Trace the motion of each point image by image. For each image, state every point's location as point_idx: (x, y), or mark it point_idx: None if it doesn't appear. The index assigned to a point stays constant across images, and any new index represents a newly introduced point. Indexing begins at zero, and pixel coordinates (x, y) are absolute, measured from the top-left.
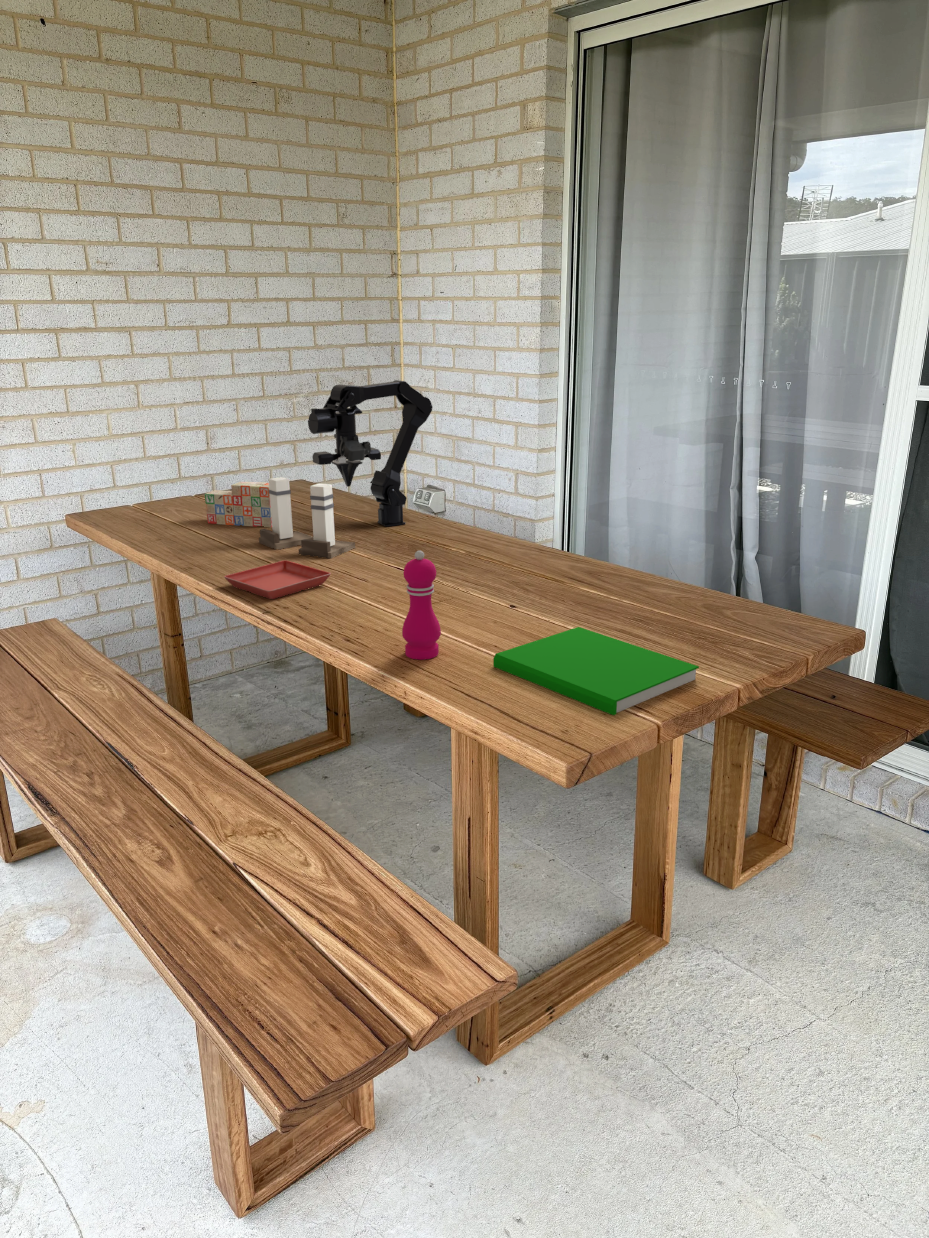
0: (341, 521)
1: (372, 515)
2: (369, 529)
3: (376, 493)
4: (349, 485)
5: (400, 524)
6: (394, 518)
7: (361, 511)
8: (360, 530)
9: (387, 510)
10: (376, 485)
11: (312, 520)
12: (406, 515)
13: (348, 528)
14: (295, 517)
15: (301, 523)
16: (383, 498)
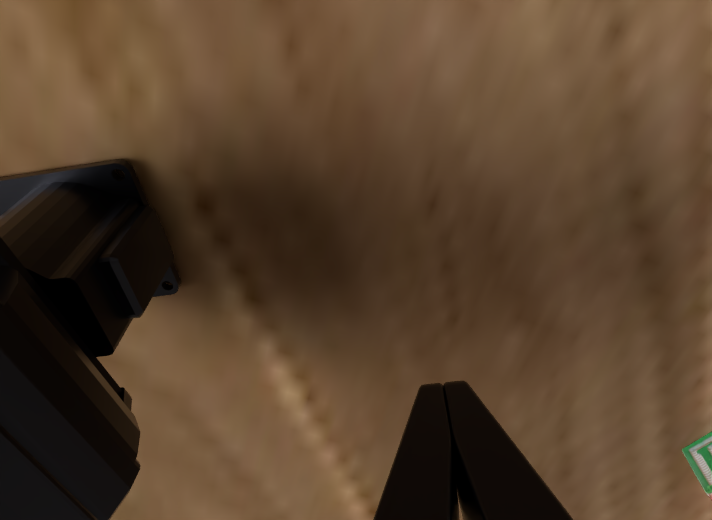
0: (382, 384)
1: (195, 437)
2: (259, 140)
3: (88, 381)
4: (436, 391)
5: (20, 176)
6: (38, 199)
7: (239, 507)
8: (328, 135)
9: (62, 247)
10: (42, 461)
11: None
12: None
13: (393, 221)
14: (563, 505)
15: (595, 410)
16: (29, 285)
